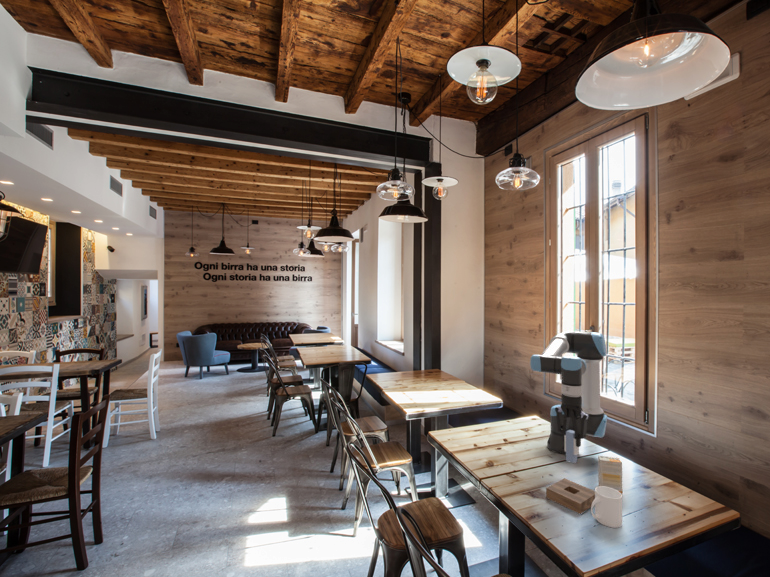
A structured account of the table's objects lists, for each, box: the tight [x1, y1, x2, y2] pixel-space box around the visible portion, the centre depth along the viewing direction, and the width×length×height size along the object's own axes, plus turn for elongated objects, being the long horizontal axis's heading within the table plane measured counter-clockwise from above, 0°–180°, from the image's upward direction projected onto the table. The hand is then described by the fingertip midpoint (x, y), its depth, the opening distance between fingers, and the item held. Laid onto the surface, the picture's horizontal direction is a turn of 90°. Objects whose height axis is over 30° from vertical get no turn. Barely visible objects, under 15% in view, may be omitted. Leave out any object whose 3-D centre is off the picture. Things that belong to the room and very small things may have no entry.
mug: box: [590, 485, 623, 529], centre depth 135 cm, size 9×12×11 cm
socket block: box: [545, 477, 595, 515], centre depth 150 cm, size 14×14×4 cm
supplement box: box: [597, 455, 623, 494], centre depth 158 cm, size 8×5×13 cm, turn 71°
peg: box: [565, 430, 578, 464], centre depth 150 cm, size 3×3×12 cm
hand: (571, 452), depth 150 cm, fingers closed on peg, 3 cm apart
